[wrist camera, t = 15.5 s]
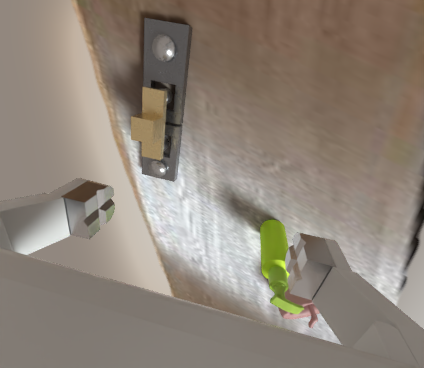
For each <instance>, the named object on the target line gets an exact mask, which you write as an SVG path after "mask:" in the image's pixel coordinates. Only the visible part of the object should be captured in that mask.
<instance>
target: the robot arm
mask: <svg viewBox="0 0 424 368" xmlns="http://www.w3.org/2000/svg"><path fill="white" fill-rule="evenodd" d="M113 196H114V190H113V188H112V187H111V186H108V185H105V184H101V183H97V182H93V181H89V180H85V179H82V178H77V179H75V180H73V181H71V182H69V183H68V184H66V185H64V186H62V187H60V188H58V189H56V190H54V191H53V192H51V193H49V194H47V193H42V194H37V195H31V196H26V197H20V198H15V199H9V200H4V201H0V368H424V329H423V328H421V327H420V326H419V325H418V324H417V323H415V322H414V321H413V320H412V319H411V318H410V317H408V316H407V315H406V314H405V313H403V312H402V311H401V310H400V309H399V308H398V307H397V306H395V305H394V304H393V303H392V302H391V301H389V300H388V299H387V298H386V297H385V296H384V295H382V294H381V293H380V292H379V291H378V290H376V289H375V288H374V287H373V286H372V285H370V284H369V283H368V282H367V281H366V280H365V279H363V278H362V277H361V276H360V275H359V274H357V273H355V272H352V270H351V268H350V266H349V264H348V262H347V260H346V258H345V256H344V255H343V253H342V251H341V249H340V247H339V245H338V243H337V242H336V241H335V240H330V239H326V238H320V237H316V236H311V235H307V234H303V233H298V232H297V233H296V234H295V235H294V237H293V239H292V240H293V244H294V245H293V246H291V247H289V248H288V251H287V253H286V258H285V268H286V271H287V272H288V273H289V274H290V275H289V277H288V279H287V280H288V286H289V292H290V294H293V295H296V296H299V297H303V298H306V299H309V300H312V302H313V304H314V305H315V306H316V308H317V309H318V311H319V312H320V314H321V315H322V316H323V318H324V319H325V321H326V322H327V324H328V325H329V326H330V328H331V329H332V331H333V332H334V334H335V335H336V336H337V338H338V339H339V341H340V342H341V344H342V345H339V344H336V343H332V342H329V341H325V340H322V339H318V338H315V337H311V336H308V335H304V334H301V333H297V332H294V331H290V330H287V329H283V328H280V327H276V326H273V325H269V324H266V323H262V322H259V321H255V320H252V319H248V318H245V317H241V316H238V315H235V314H231V313H228V312H224V311H221V310H217V309H214V308H210V307H207V306H203V305H200V304H196V303H193V302H189V301H186V300H182V299H179V298H175V297H172V296H168V295H165V294H161V293H158V292H154V291H150V290H147V289H144V288H140V287H137V286H133V285H129V284H126V283H123V282H119V281H116V280H112V279H108V278H105V277H102V276H98V275H94V274H91V273H87V272H84V271H81V270H77V269H74V268H70V267H66V266H63V265H60V264H56V263H53V262H49V261H45V260H42V259H39V258H35V257H31V256H28V255H27V254H30V253H32V252H34V251H36V250H39V249H41V248H43V247H46V246H48V245H50V244H52V243H55V242H57V241H59V240H62V239H64V238H66V237H69V236H70V235H74V236H78V237H82V238H86V239H90V238H91V237H92V236H93V235H95V234H96V232H98V231H99V230H100V225H102V224H105V223H107V222H108V221H109V220H110V219H111V217H112V215H113V213H114V209H115V207H114V206H115V205H114V202H113V201H112V199H111V198H112V197H113Z"/></svg>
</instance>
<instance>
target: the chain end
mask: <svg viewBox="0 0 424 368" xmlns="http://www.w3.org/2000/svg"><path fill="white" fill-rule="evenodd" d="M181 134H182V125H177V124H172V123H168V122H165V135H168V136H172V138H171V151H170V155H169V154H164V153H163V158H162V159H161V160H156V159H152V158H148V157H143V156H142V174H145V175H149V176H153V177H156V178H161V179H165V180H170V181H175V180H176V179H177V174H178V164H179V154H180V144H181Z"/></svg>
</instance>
